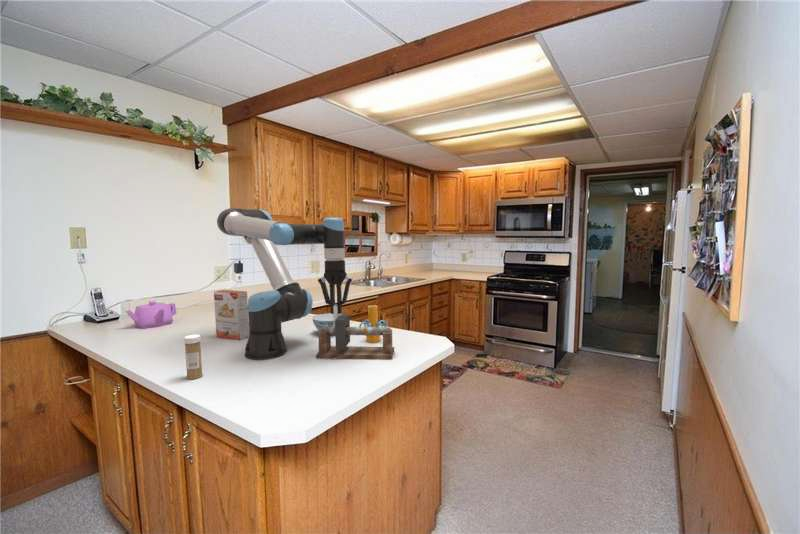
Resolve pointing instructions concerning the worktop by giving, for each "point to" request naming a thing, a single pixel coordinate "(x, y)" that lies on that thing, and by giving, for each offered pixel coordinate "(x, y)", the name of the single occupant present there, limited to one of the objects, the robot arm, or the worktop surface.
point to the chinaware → (324, 320)
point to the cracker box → (231, 314)
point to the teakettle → (153, 314)
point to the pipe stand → (355, 351)
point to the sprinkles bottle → (193, 356)
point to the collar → (342, 331)
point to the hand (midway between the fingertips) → (336, 322)
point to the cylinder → (373, 323)
